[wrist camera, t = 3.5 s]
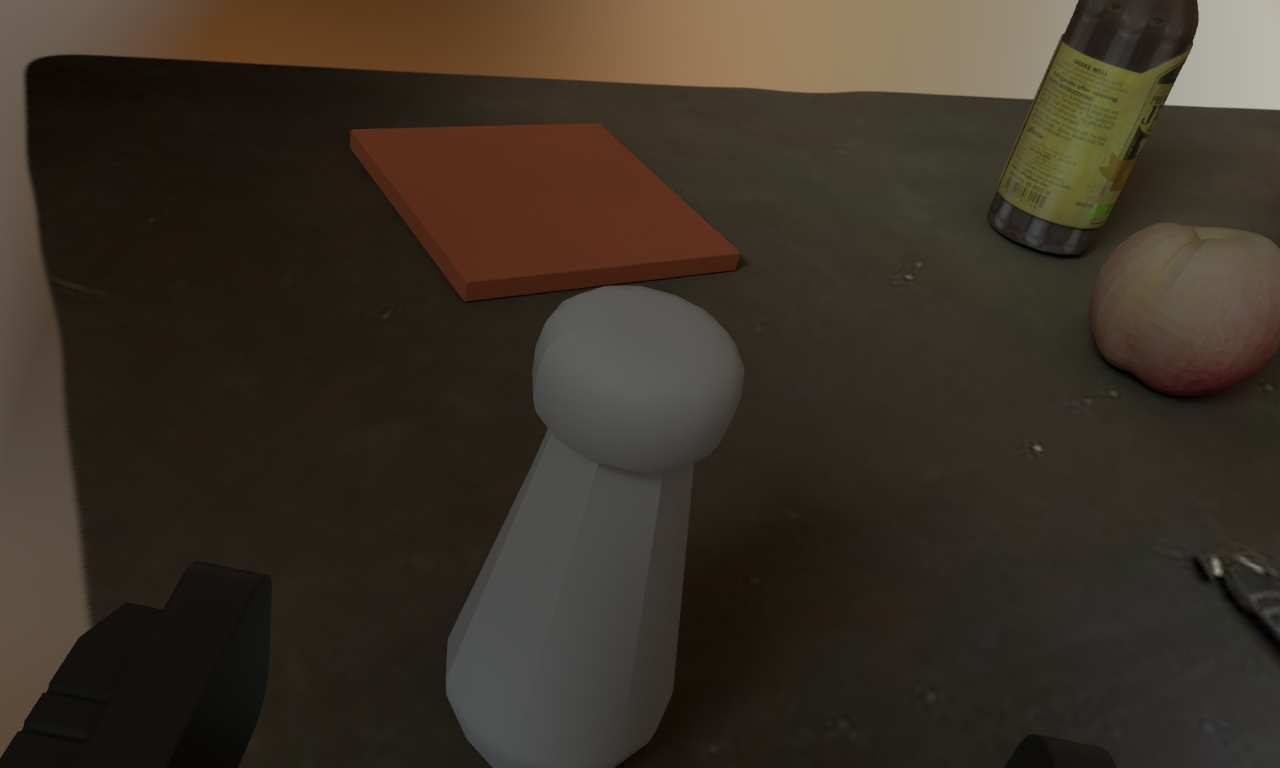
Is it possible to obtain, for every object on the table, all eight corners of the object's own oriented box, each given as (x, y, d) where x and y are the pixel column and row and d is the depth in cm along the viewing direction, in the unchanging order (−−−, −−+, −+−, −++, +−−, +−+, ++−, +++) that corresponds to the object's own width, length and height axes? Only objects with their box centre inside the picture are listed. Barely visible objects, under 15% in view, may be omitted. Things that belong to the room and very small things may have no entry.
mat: (463, 302, 45) (466, 281, 45) (349, 147, 54) (350, 128, 54) (735, 270, 53) (741, 252, 52) (595, 139, 62) (599, 122, 61)
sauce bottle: (1095, 274, 61) (1291, -102, 50) (985, 242, 62) (1155, -139, 50) (1080, 226, 67) (1254, -123, 55) (979, 197, 67) (1132, -157, 56)
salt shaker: (494, 612, 32) (575, 219, 25) (676, 690, 31) (816, 307, 24) (393, 766, 28) (456, 338, 20) (605, 864, 27) (751, 452, 19)
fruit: (1139, 322, 58) (1217, 184, 53) (1265, 417, 52) (1364, 272, 48) (1031, 335, 54) (1106, 187, 49) (1156, 439, 48) (1252, 284, 44)
